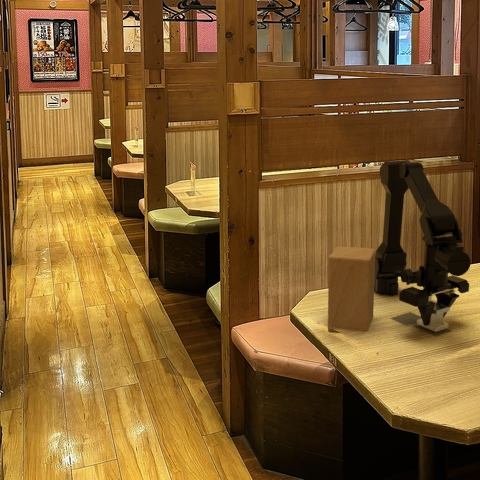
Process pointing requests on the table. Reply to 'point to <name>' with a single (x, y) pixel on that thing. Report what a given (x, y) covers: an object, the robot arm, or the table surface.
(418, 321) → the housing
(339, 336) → the table surface
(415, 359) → the table surface
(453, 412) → the table surface
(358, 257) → the wooden block
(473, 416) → the table surface
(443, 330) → the stand
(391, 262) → the robot arm
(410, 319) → the stand
